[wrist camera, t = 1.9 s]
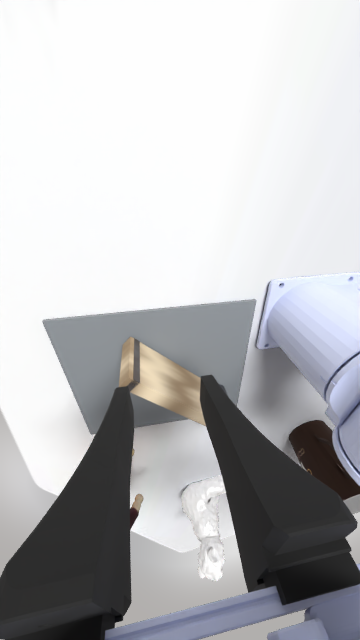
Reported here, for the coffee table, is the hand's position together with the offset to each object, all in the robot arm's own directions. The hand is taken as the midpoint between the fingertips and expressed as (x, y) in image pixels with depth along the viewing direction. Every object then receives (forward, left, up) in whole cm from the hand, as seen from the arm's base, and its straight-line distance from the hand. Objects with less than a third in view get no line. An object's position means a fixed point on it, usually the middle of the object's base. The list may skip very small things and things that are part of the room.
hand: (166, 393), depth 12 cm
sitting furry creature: (-6, +40, -10) cm, 42 cm away
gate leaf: (-1, +7, -9) cm, 11 cm away
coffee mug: (-24, +25, -10) cm, 36 cm away
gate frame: (0, +8, -9) cm, 13 cm away
